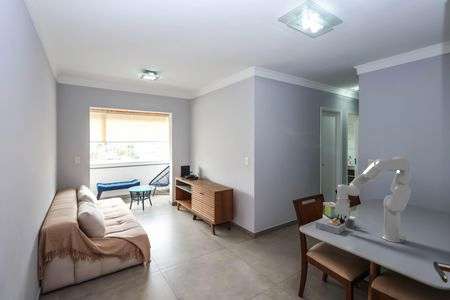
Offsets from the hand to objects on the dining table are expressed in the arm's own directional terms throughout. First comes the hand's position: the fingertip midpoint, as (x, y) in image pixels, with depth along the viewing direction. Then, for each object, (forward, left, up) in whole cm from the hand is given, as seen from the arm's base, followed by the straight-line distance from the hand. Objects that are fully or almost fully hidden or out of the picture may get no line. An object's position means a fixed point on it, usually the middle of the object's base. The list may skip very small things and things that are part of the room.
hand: (342, 223), depth 173 cm
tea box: (+16, -20, -7) cm, 26 cm away
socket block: (+9, 0, -7) cm, 11 cm away
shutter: (+6, 0, -1) cm, 6 cm away
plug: (-2, -13, -7) cm, 15 cm away
